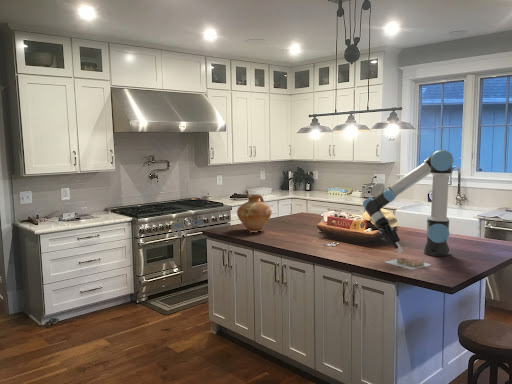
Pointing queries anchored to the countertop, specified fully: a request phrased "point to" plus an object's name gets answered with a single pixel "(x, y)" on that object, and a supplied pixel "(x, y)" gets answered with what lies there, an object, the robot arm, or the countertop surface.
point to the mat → (405, 265)
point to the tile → (410, 261)
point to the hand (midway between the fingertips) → (401, 252)
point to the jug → (254, 213)
